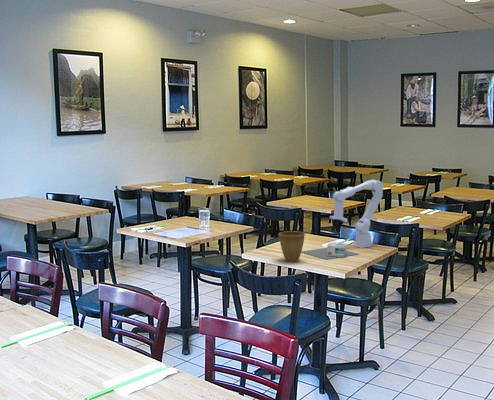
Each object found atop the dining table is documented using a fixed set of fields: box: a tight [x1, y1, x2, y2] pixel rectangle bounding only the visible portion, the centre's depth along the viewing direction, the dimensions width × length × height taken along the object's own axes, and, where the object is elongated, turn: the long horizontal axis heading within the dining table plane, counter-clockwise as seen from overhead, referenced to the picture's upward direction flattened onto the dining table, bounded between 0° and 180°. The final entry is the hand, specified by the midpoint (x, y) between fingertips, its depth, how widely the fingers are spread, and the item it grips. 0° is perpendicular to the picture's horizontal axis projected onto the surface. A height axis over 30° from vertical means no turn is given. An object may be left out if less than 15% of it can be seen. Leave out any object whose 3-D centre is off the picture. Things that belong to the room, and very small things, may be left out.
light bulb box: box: [326, 241, 347, 258], centre depth 346 cm, size 11×7×11 cm
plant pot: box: [278, 230, 306, 263], centre depth 332 cm, size 15×15×16 cm
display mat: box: [301, 247, 360, 261], centre depth 352 cm, size 26×24×1 cm
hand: (338, 231), depth 367 cm, fingers closed
